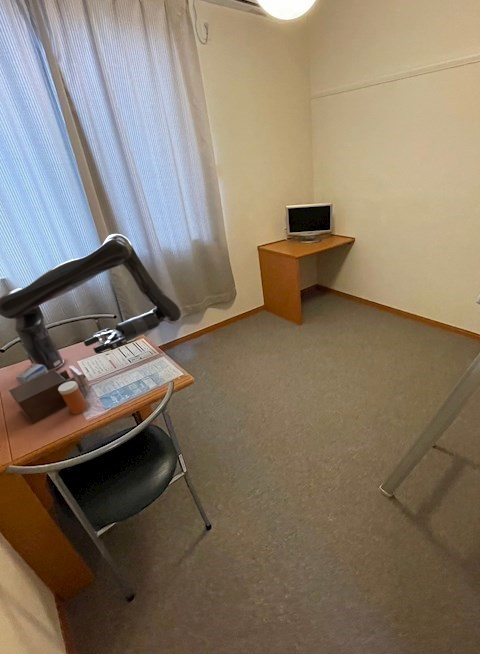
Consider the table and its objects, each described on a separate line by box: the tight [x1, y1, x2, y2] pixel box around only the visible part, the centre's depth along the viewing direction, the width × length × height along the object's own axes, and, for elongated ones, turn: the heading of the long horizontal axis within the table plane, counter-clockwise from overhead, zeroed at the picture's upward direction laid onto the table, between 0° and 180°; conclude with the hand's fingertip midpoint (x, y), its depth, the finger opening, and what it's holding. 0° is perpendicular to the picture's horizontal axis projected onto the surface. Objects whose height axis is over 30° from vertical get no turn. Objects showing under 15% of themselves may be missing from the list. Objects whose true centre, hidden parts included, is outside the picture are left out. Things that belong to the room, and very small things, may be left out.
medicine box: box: [15, 364, 48, 385], centre depth 121 cm, size 8×4×9 cm, turn 168°
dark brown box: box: [8, 370, 68, 425], centre depth 112 cm, size 14×11×9 cm
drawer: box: [58, 364, 91, 394], centre depth 116 cm, size 14×9×7 cm
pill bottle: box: [58, 381, 89, 415], centre depth 109 cm, size 5×5×10 cm
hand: (89, 347), depth 120 cm, fingers open, 8 cm apart
